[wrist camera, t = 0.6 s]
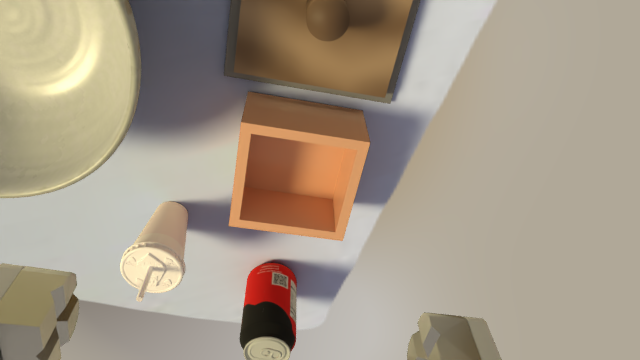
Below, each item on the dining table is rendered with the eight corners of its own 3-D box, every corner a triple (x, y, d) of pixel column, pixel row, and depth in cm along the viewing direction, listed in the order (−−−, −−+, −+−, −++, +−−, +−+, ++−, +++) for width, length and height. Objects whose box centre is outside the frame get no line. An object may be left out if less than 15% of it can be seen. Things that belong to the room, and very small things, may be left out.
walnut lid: (253, -107, 41) (247, -102, 36) (428, -68, 43) (443, -60, 38) (235, 67, 49) (228, 88, 44) (383, 93, 51) (391, 115, 46)
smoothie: (197, 192, 57) (171, 279, 45) (201, 236, 61) (177, 327, 49) (141, 190, 57) (99, 277, 45) (147, 234, 60) (111, 325, 49)
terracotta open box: (248, 91, 51) (241, 122, 45) (362, 110, 52) (370, 142, 46) (236, 187, 57) (228, 226, 51) (338, 202, 59) (342, 240, 53)
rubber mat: (243, -124, 40) (242, -123, 40) (441, -80, 43) (443, -79, 42) (224, 73, 49) (223, 75, 49) (389, 101, 52) (390, 103, 51)
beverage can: (258, 251, 62) (250, 327, 52) (304, 267, 64) (305, 343, 54) (240, 285, 65) (229, 363, 55) (285, 299, 67) (282, 377, 57)
